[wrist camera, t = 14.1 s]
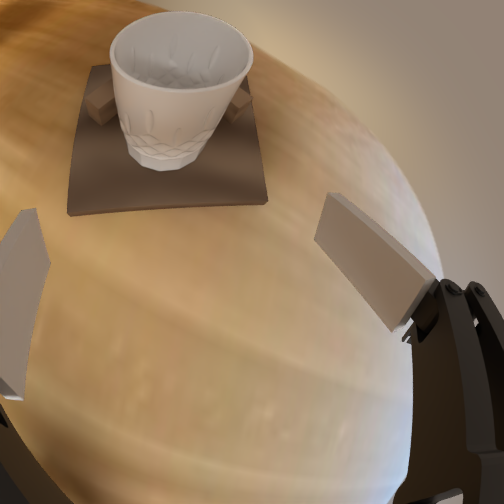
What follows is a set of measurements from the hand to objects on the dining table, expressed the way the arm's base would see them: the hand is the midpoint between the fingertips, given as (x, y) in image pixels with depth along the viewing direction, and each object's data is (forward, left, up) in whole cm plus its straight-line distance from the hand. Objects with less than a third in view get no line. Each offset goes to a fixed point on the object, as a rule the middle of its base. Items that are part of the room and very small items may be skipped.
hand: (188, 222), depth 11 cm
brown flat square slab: (-9, +7, -10) cm, 15 cm away
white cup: (-8, +6, -9) cm, 13 cm away
